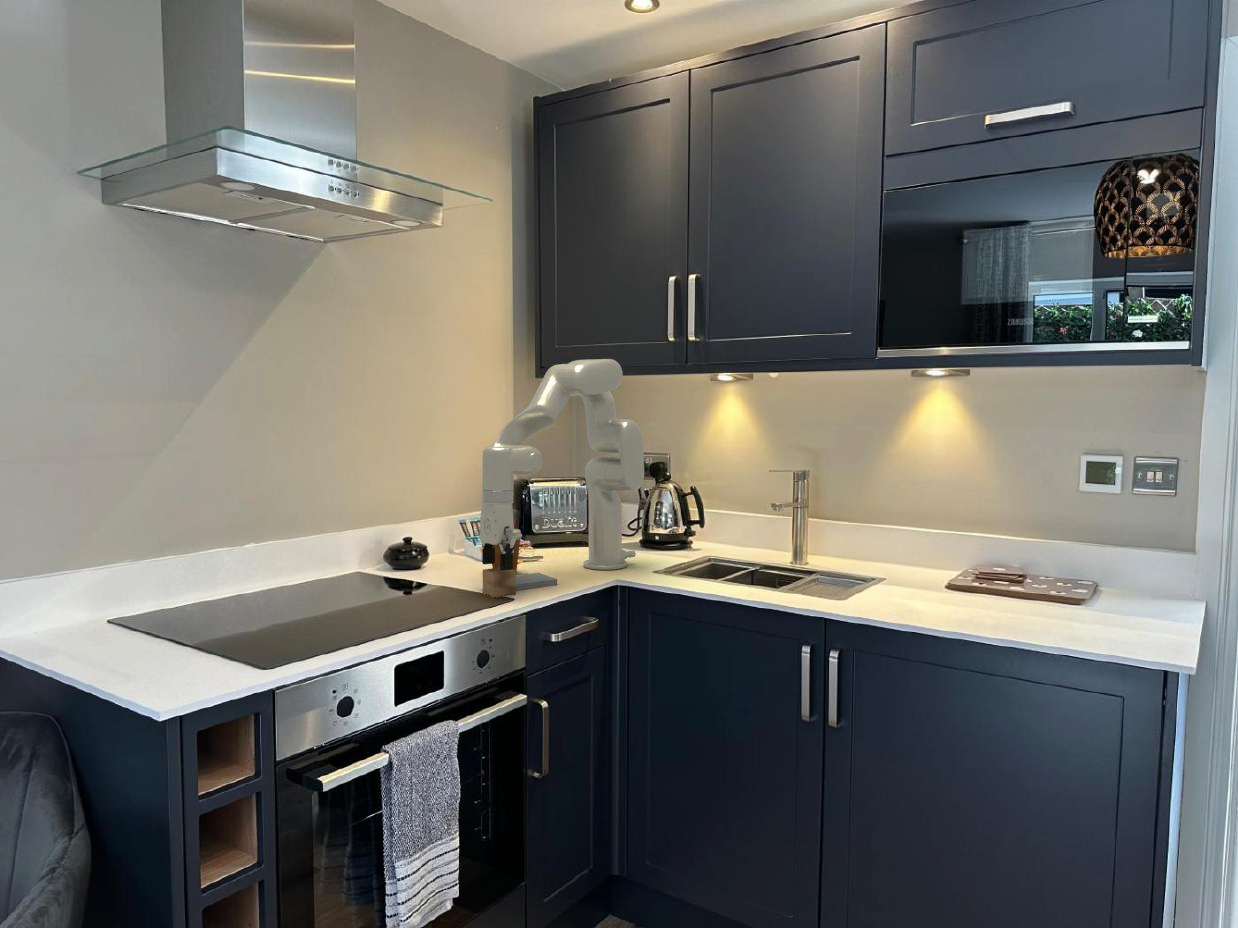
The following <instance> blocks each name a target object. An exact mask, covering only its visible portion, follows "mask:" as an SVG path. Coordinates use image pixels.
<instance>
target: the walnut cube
mask: <svg viewBox="0 0 1238 928" xmlns="http://www.w3.org/2000/svg"><path fill="white" fill-rule="evenodd" d="M516 575H517V573H516V571H515V570H503V571H502V570H500V568H492V567H491V568H486V569H482V594H483V593H485V594H484V595H486V594H487V595H486V596H488V595H490V596H492V597H491V598H493V597H496V598H502V597H503V596H504V597H509V596H516V595H517V590H516ZM490 596H489V597H490ZM501 596H502V597H501Z"/></svg>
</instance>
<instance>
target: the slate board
mask: <svg viewBox="0 0 1238 928" xmlns="http://www.w3.org/2000/svg"><path fill="white" fill-rule="evenodd" d="M557 585H558V579H557V578H555V577H552V576H549V575H546V574H543V573H540V572H534V573H533V572H532V573H527V574H526V573H525V574H516V591H523V590H529V589H536V588H543V587H545V588H546V587H551V586H557ZM522 589H523V590H522Z"/></svg>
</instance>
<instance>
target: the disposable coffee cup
mask: <svg viewBox="0 0 1238 928" xmlns="http://www.w3.org/2000/svg"><path fill="white" fill-rule="evenodd" d="M514 535H515V536H516V541H515V548H514V553H513V569H512V570H515V571H516V574H517V571H518V564H519V563H518V562H519V556H520V555H519V554H520V547H521V546H520V545H521V539H522V538H523V537H522V536H523V534H522V532H521V530H520V529H518V528H514ZM493 547H495V563H494V564H491V566H492V567H491V569H492V568H500V554H502V552H501V549H500V546H499V543H498V545H494V546H493ZM493 547H492V548H493ZM504 547H506V545H504Z"/></svg>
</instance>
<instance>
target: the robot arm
mask: <svg viewBox="0 0 1238 928" xmlns="http://www.w3.org/2000/svg"><path fill="white" fill-rule="evenodd" d="M623 374H624V373H623V370H622V367H621V365H620V364H619V362H618V361H616V360H615V359H612V358H601V359H599V358H598V359H577V360H572V361H570V362H568V363H561V364H554V365H552V366H551V367H549V368H548V370H547V371H546V372H545V374H544V376H543V378H542V380H541V381H540V384H538V385H539V386H538V387H537V390H536V392H535V393H534V395H533V397H532V399H531V401H530V402H529V405H528V406H527V407H526V408H525V409H524V410H523V411H521V412H519V414H517V415H516V416H515V417H514V418H512V419H511V420H510V421H509V422H508V423H506V425H504V427H503V428H502V429H501V430H500V431H499V433H498V434H497V437H496V439H495V440H494V442H493V444H492V446H487V447H485V448H483V450H482V483H481V484H482V486H481V487H482V491H481V493H482V500H481V502H482V504H481V510H480V521H479V522H480V523H479V540H480V541H481V549H482V552H481V553H482V556H481V557H482V563H481V564H483V565H492V564H494V563H495V547H493V546H494V545H498V543H499V546H500V549H501V552H502V554H500V570H502V571H503V570H512V569H513V553H514V548H515V541H516V536H515V535H514V529H515V525H514V524H515V523H514V510H513V504H514V480H515V479H514V476H524V477H525V476H526V477H527V476H532V475H535V474H537V473H538V472H539V471H541V469H542V467H543V465H544V457H543V454H542V453H541V451H540V449H538V448H537V447H534V446H531V445H521V444H522V443H524V441H525V440H527V439H528V438H530V437H532V436H534V435H536V434H538V433H540V432H544V431H546V430H548V429H550V428H552V427H554V426H555V425H556V424H557V423H558V422H559V420H560V418H561V416H562V414H563V411H564V410H565V408H566V406H567V404H568V402H569V400H570V398H571V397H580V398H581V399H582V402H583V404H584V410H585V418H586V431H587V433H586V434H587V441H588V445H589V447H590V449H591V450H592V451H594V452H599V453H607V454H608V453H609V454H610V453H614V454H618V455H619V457H617V456H604V455H603V456H597V457H593V458H592V459H590V460H588V462H587V463H586V466H585V470H584V478H585V483H586V488H587V496H588V497H587V499H588V559H586V560H584V561H583V562H582V564H583V567H584V568H586V569H591V570H601V571H602V570H603V571H609V570H610V571H613V570H619V569H620V570H621V569H624V568H626V567H628V561H626V560H627V558H635V557H636V555H637V554H636V551H635V550H634V549H633V550H628V551H627V550H625V549H623V547H622V544H623V543H622V538H623V536H622V535H623V534H622V533H623V529H622V528H623V523H622V522H623V521H622V518H623V517H622V516H623V515H622V514H623V513H622V512H623V511H622V508H623V507H622V502H621V501H622V500H621V498H620V496H619V494H618V492H630V493H631V492H636V491H638V490H640V489H641V487H642V486H643V483H644V481H645V480H644V479H645V462H644V460H645V459H644V446H643V445H644V444H643V441H644V440H643V434H642V430H641V427H640V426H639V425H638V423H636V422H635V421H634V420H632V419H628V418H627V419H626V418H618V417H617V412H616V402H615V399H614V396H613V394H612V391H615V390H616V389H617V388H618V387H619V386H620V385H621V383H622V380H623ZM504 545H506V547H504ZM492 547H493V548H492Z"/></svg>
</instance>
